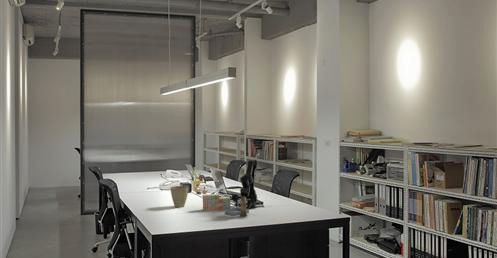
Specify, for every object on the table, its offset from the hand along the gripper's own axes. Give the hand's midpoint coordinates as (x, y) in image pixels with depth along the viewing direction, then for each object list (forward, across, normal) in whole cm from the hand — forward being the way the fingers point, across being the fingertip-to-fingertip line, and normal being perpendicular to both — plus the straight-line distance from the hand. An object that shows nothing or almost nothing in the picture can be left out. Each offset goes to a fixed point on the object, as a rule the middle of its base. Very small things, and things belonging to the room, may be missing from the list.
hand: (243, 207), depth 356 cm
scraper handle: (+4, 0, +6) cm, 7 cm away
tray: (-3, -7, +12) cm, 14 cm away
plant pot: (-15, -59, +25) cm, 66 cm away
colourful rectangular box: (-11, -26, +21) cm, 35 cm away
